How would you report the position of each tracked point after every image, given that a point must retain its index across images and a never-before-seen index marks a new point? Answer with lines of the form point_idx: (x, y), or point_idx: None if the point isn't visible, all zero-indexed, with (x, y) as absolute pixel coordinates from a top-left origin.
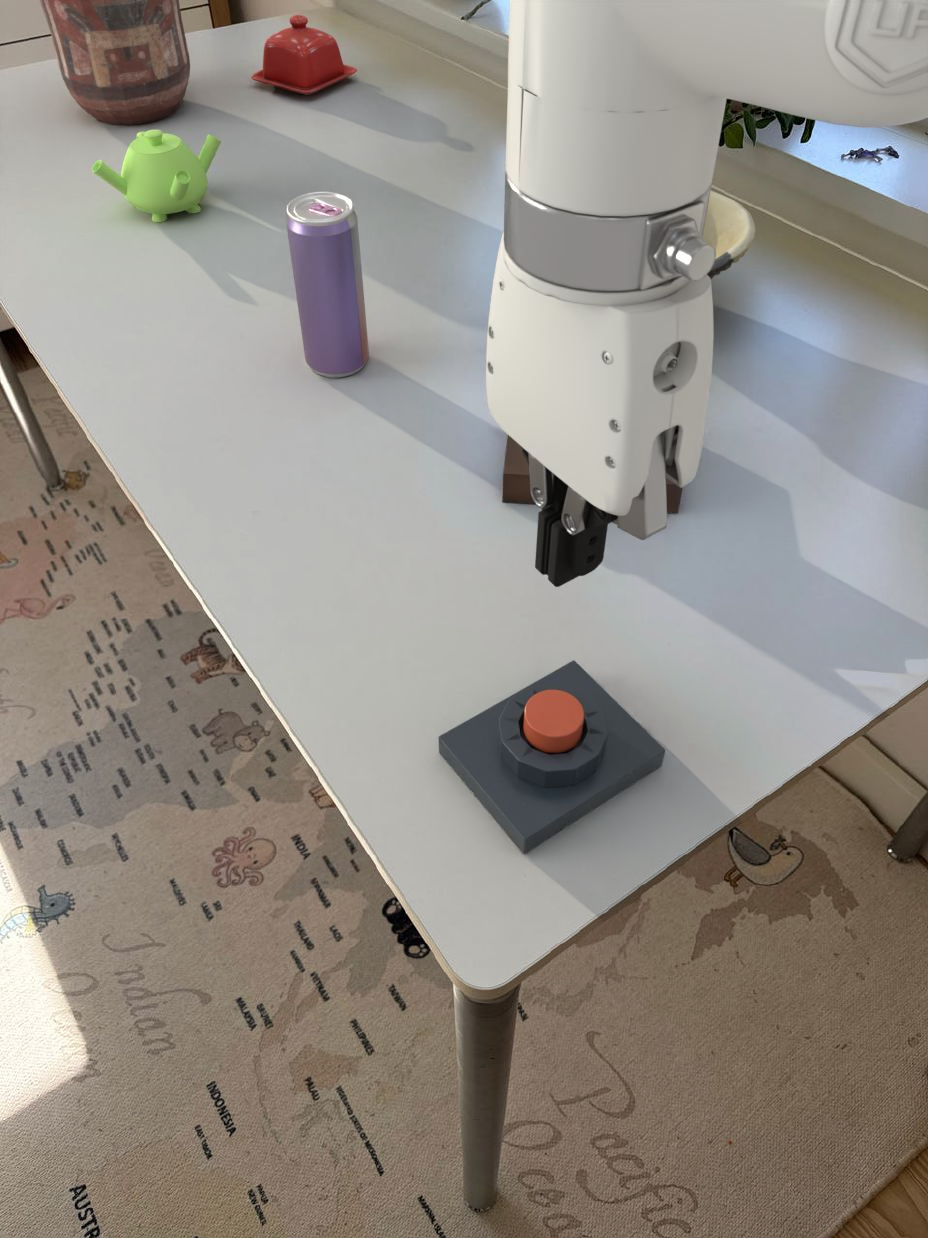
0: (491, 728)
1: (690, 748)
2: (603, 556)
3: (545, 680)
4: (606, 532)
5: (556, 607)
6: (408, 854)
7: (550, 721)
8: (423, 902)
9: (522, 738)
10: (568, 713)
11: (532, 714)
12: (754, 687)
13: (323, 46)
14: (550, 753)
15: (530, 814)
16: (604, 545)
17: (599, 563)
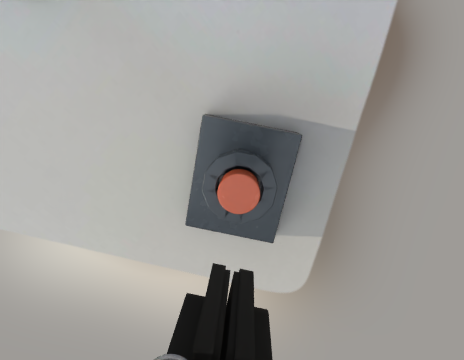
0: (204, 200)
1: (306, 106)
2: (253, 276)
3: (201, 145)
4: (253, 309)
5: (150, 66)
6: None
7: (242, 202)
8: None
9: None
10: (246, 189)
11: (228, 205)
12: (315, 19)
13: None
14: None
15: (264, 229)
16: (253, 291)
17: (266, 309)
